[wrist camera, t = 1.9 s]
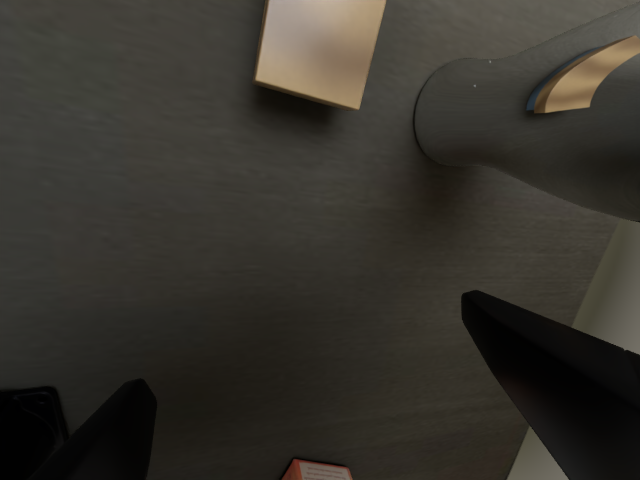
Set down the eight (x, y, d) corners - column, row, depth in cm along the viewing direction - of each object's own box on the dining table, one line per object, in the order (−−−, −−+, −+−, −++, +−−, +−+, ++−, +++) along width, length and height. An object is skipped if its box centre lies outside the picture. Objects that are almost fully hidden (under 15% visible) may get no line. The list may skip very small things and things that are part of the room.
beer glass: (525, 82, 21) (1100, 16, 7) (473, 187, 22) (860, 297, 9) (439, 27, 18) (1077, -239, 5) (388, 149, 20) (744, 221, 6)
